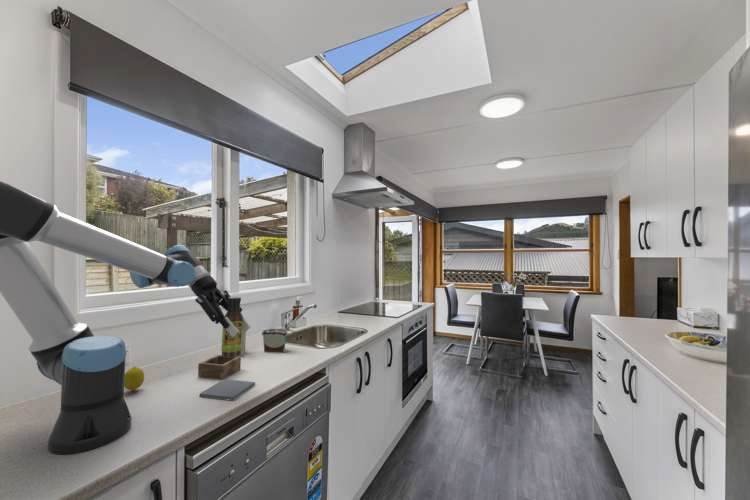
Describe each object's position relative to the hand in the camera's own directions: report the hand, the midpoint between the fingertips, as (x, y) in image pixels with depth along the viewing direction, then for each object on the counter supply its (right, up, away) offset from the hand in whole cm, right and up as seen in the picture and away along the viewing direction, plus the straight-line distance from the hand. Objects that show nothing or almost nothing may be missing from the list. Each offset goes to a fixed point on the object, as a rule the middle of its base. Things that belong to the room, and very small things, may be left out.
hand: (242, 331), depth 104 cm
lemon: (-35, -19, -2) cm, 40 cm away
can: (-20, -21, +38) cm, 47 cm away
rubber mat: (-4, -20, -1) cm, 20 cm away
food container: (-2, -21, +44) cm, 49 cm away
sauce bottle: (-4, -9, 0) cm, 9 cm away
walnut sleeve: (-15, -20, +14) cm, 29 cm away
